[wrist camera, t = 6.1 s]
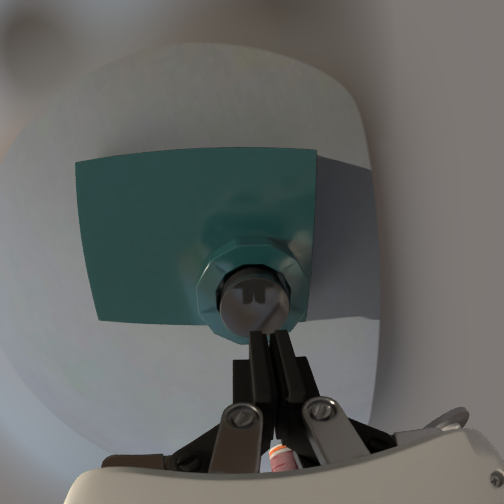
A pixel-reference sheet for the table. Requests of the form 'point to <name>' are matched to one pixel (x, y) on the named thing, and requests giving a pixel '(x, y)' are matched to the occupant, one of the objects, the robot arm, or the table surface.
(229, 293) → the dark grey push button
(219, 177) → the teal rectangular block
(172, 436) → the table surface
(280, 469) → the pill bottle
